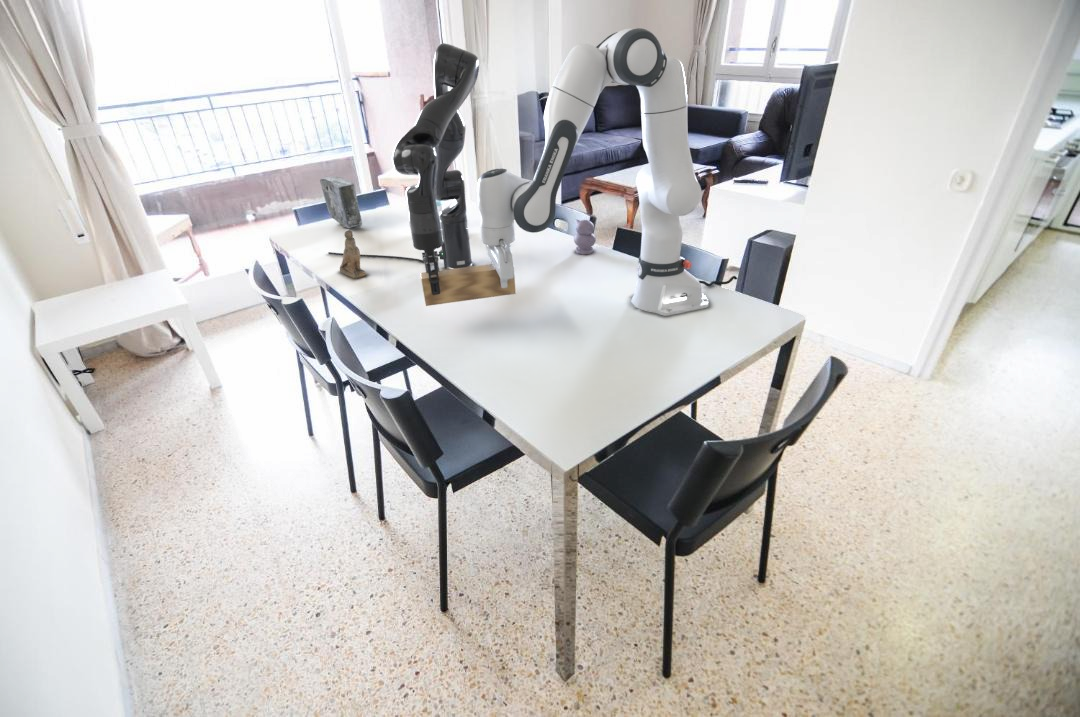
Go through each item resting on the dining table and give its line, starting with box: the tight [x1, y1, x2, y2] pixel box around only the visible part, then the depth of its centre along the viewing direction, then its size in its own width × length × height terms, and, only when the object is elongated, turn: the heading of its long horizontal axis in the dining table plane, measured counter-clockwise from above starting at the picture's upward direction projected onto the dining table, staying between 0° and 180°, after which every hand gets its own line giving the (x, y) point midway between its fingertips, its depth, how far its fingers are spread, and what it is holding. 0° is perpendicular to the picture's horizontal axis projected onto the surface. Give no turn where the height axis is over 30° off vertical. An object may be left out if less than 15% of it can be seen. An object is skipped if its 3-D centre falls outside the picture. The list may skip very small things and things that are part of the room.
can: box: [436, 200, 445, 225], centre depth 220 cm, size 7×7×12 cm
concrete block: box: [319, 175, 363, 229], centre depth 226 cm, size 27×9×20 cm, turn 36°
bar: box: [420, 263, 516, 307], centre depth 136 cm, size 25×4×8 cm, turn 105°
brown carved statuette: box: [339, 229, 367, 280], centre depth 174 cm, size 12×6×18 cm, turn 43°
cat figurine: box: [573, 218, 597, 255], centre depth 187 cm, size 8×8×12 cm
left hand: (435, 290), depth 135 cm, fingers closed on bar, 4 cm apart
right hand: (501, 282), depth 139 cm, fingers closed on bar, 4 cm apart
